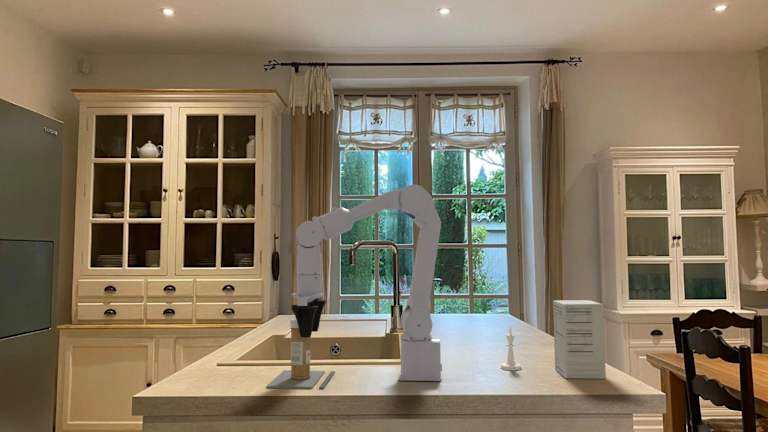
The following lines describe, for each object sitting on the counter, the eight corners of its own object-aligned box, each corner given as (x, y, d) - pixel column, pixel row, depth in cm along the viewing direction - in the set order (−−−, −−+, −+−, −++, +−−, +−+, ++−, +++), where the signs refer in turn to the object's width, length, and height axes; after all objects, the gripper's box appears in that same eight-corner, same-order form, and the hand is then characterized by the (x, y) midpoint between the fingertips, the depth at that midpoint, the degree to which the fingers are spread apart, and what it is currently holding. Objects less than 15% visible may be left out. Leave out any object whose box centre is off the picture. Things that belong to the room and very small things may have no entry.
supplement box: (606, 379, 120) (605, 304, 121) (565, 379, 120) (563, 304, 121) (592, 369, 129) (590, 299, 130) (553, 369, 130) (552, 299, 131)
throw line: (335, 372, 128) (335, 371, 128) (323, 388, 114) (323, 387, 114) (331, 372, 128) (331, 371, 128) (319, 388, 114) (319, 387, 114)
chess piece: (500, 370, 129) (499, 328, 130) (501, 365, 134) (500, 325, 134) (521, 371, 128) (520, 329, 129) (521, 366, 133) (520, 325, 133)
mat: (324, 372, 128) (324, 370, 128) (312, 388, 114) (312, 386, 114) (283, 372, 129) (283, 370, 129) (266, 388, 115) (266, 386, 115)
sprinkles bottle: (314, 377, 121) (314, 318, 122) (297, 381, 118) (297, 320, 119) (303, 374, 125) (303, 316, 125) (286, 377, 122) (286, 318, 122)
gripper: (299, 272, 130) (299, 328, 129) (283, 276, 115) (283, 340, 115) (328, 272, 129) (328, 328, 128) (315, 276, 115) (316, 340, 114)
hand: (309, 334), depth 121 cm, fingers open, 7 cm apart
